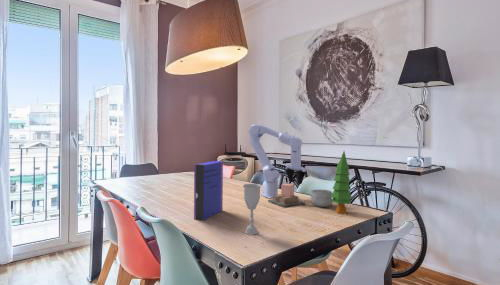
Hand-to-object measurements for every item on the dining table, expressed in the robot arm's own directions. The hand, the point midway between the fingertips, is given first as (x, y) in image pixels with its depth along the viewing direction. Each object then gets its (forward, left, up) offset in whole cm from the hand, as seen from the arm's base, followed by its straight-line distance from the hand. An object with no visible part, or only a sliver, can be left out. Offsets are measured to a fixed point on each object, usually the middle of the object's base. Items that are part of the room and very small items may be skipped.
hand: (295, 182), depth 171 cm
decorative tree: (+32, +2, -10) cm, 34 cm away
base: (+5, -10, -9) cm, 15 cm away
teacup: (+19, +4, -10) cm, 22 cm away
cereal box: (+6, -55, -10) cm, 56 cm away
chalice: (+36, -50, -10) cm, 62 cm away
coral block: (+5, -9, -5) cm, 12 cm away
